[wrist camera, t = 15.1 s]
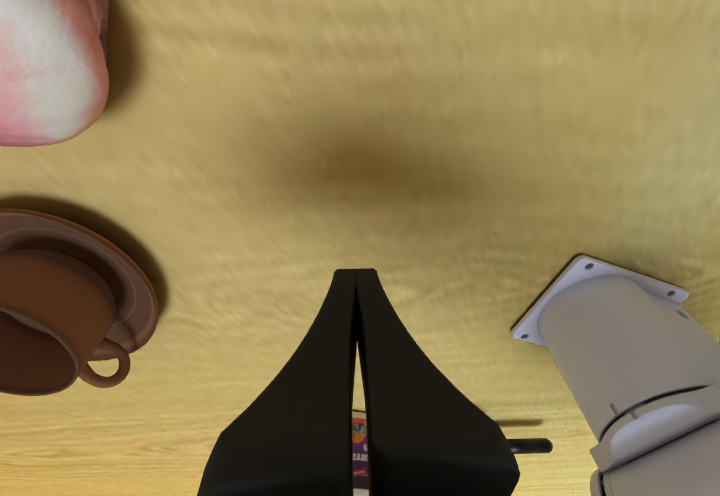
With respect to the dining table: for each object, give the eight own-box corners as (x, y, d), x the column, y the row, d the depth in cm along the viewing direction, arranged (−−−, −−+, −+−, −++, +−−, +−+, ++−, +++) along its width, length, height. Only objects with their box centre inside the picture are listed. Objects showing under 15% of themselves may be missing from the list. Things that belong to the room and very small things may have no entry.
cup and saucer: (196, 259, 24) (155, 333, 19) (136, 359, 29) (92, 438, 24) (-27, 153, 19) (-159, 212, 14) (-48, 294, 25) (-149, 374, 20)
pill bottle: (391, 418, 35) (404, 546, 27) (364, 444, 37) (368, 568, 30) (338, 403, 33) (335, 536, 25) (314, 432, 36) (305, 560, 28)
